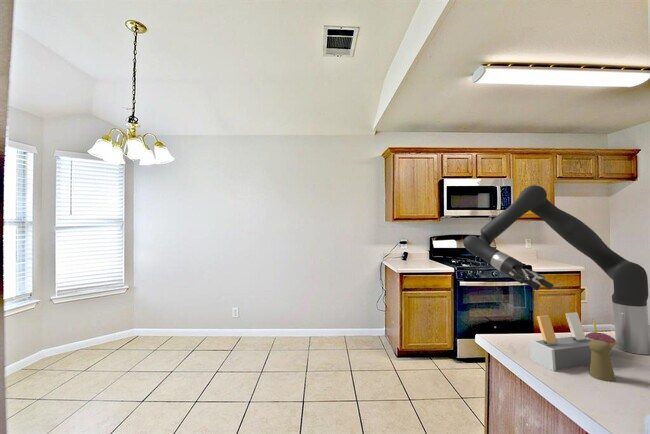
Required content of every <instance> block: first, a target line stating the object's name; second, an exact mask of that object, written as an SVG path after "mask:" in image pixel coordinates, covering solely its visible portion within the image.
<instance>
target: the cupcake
mask: <svg viewBox="0 0 650 434" xmlns="http://www.w3.org/2000/svg"><path fill="white" fill-rule="evenodd" d="M592 326H593V330H594V331H592V332H588V333H587V334H585V336H586V337H587V338H590V339H593V340H600V341H604V342H606V343H608V344H609V345H610V347H611V352H612V350H613V348H615V347H616V345H617V343H616V338H615V337H612V336H611V335H610V334H607V333H603V332H598V329H597V326H596V321H595V320H594V318H592ZM611 352H610V353H609V356H610V355H611Z"/></svg>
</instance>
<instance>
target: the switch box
mask: <svg viewBox="0 0 650 434" xmlns="http://www.w3.org/2000/svg"><path fill="white" fill-rule="evenodd" d="M556 340H557V343H550V344H544V342H543V341H544V340H534V339H528V345H529V359H530V361H532V362H534V363H536V364H538V365H540V366H542V367H544V368H545V369H548V370H550V371H552V372H556V371H559V370H566V369H572V368H579V367H587V366H590V362H591V350H590V348H589V342H590V341H591V340H593V339H590V338H587V337H586V339H583V340H573V338H572V336H566V337H559V338H558V337H556Z"/></svg>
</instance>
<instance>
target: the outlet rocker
mask: <svg viewBox="0 0 650 434" xmlns="http://www.w3.org/2000/svg"><path fill="white" fill-rule="evenodd" d="M536 320H537V322H538V326H539V330H540V333H541V337H542V339H543V340H544V341H543V342H544V344H550V343H557V340H556V339H557V337H556V334H555V331H554V328H553V324H552V320H551V318H550V315H548V314H547V315H546V314H545V315H538V316H536Z"/></svg>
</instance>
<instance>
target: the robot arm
mask: <svg viewBox="0 0 650 434" xmlns="http://www.w3.org/2000/svg"><path fill="white" fill-rule="evenodd" d="M528 212H531V213H533V214H534V215H535V216H537V217H538V218H539V219H542V220H543V221H544V222H545V224H546V225H548V227H550V228H551V229H552V230H553V231H554V232H555V233H557V234H558V236H560V237H561V238H562V239H563V240H565V241H566V242H567V243H568V244H570V245H571V246H572V247H573V248H574V249H576V250H577V251H579V252H580V253H582V254H583V255H584V256H586V257H588V258H589V259H590V260H592V261H593V262H594V263H595V264H596V265H597V266H598V267H599V268H600V269H601V270H602V271H603V272H604V273H605V274H606V275H607V276H608V277H609V278H610V279H611V280H612V282H613V293H612V295H611V303H612V312H613V313H612V315H613V324H614V335H615V337H614V339H615V340H616V343H617V345H616V346H615V347H616V348H617V349H619V350H621V351H624V352H626V353H627V352H628V353H631V354H638V355H650V322H649V313H648V312H649V311H648V300H649V283H648V282H649V280H648V274H647V271H646V269H645V268H644V267H643V266H642V265H640V264H639V263H635V262H633V261H630V260H627V259H626V258H624V257H622V256H621V255H620V254H618V253H617V252H615V251H614V250H612V249H611V248H610V247H609V246H608V245H607V244H606V243H605V242H604V241H603V239H602V238H601V237H600V236H599V235H598V234H597V233H596V231H594V230H593V229H592V228H591V227H590V226H589V225H587V224H586V223H585V222H583V221H582V220H581V219H579V218H577V217H576V216H574V215H572V214H570V213H568V212H566V211H565V210H562V209H560V208H559V207H557V206H556V205H554V204H553V203H552V202H551V201H550V200H549V199H548V193H547V190H546V189H545V188H544V187H542V186H540V185H536V184H535V185H529V186H526V187H525V188H523V190H521V192H520V193H519V194H518V197H517V198H516V199H515V200H514V201H513V202H512V203H511V204H510V205H509V206H508V207H506V209H505V210H503V211H502V212H501V213H499V214H497V215H496V216H495V217H493V218H492V219H491V220H489V222H487V223H486V224H485V225H484V226H482V228H481V229H480V235H479V237H477V236H475V235H468V236H466V237H464V239H463V240H462V241H463V242H462V243H463V246H464V248H465V249H466V250H467V251H468V252H469V253H470V254H472V255H473V256H478V257H480V258H481V260H483V261H484V262H486V263H488V264H489V265H490V266H492V267H494V268H495V269H496V270H497V271H499V272H501V273H503V274H504V275H505V276H507V277H509V278H511V279H514V280H515V281H516V282H518V283H519V284H521V285H522V284H524V285H527V286H529V287H530V288H532V289H534V290H536V291H539V290H540V289H541V286H543V287H545V288H546V289H548V290H552V289H553V287H554V284H553V283H552V282H550V281H549V280H547V279H546V277H545V276H544V275H542V274H540V273H538V272H537V271H534V270H533V269H527V268H524V264H523V262H522V261H520V260H519V259H516V258H515V257H513V256H511V255H509V254H508V253H505V252H502V251H501V250H499V249H497V248H495V247H493V246H491V244H492V243H493V242H494V240H496V239H497V238H498V237H499V236H501V235H502V234H503V233H504V232H506V231H507V230H508V229H509V228H510V227H511V226H512V225H513V224H515V222H517V220H519V219H520V218H521V217H523V216H524V215H526V213H528Z"/></svg>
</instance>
